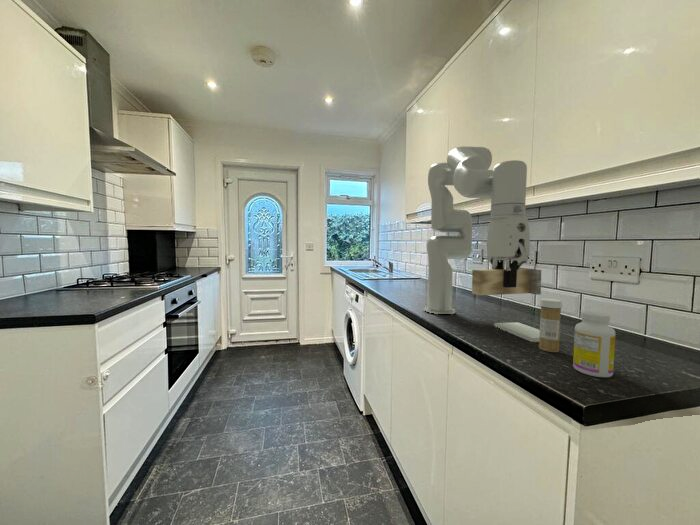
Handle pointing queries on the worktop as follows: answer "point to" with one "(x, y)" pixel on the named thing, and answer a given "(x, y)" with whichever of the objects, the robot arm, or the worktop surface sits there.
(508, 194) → the robot arm
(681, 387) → the worktop surface
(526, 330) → the board
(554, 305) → the sprinkles bottle
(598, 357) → the supplement bottle
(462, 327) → the worktop surface
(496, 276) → the light brown wooden block
